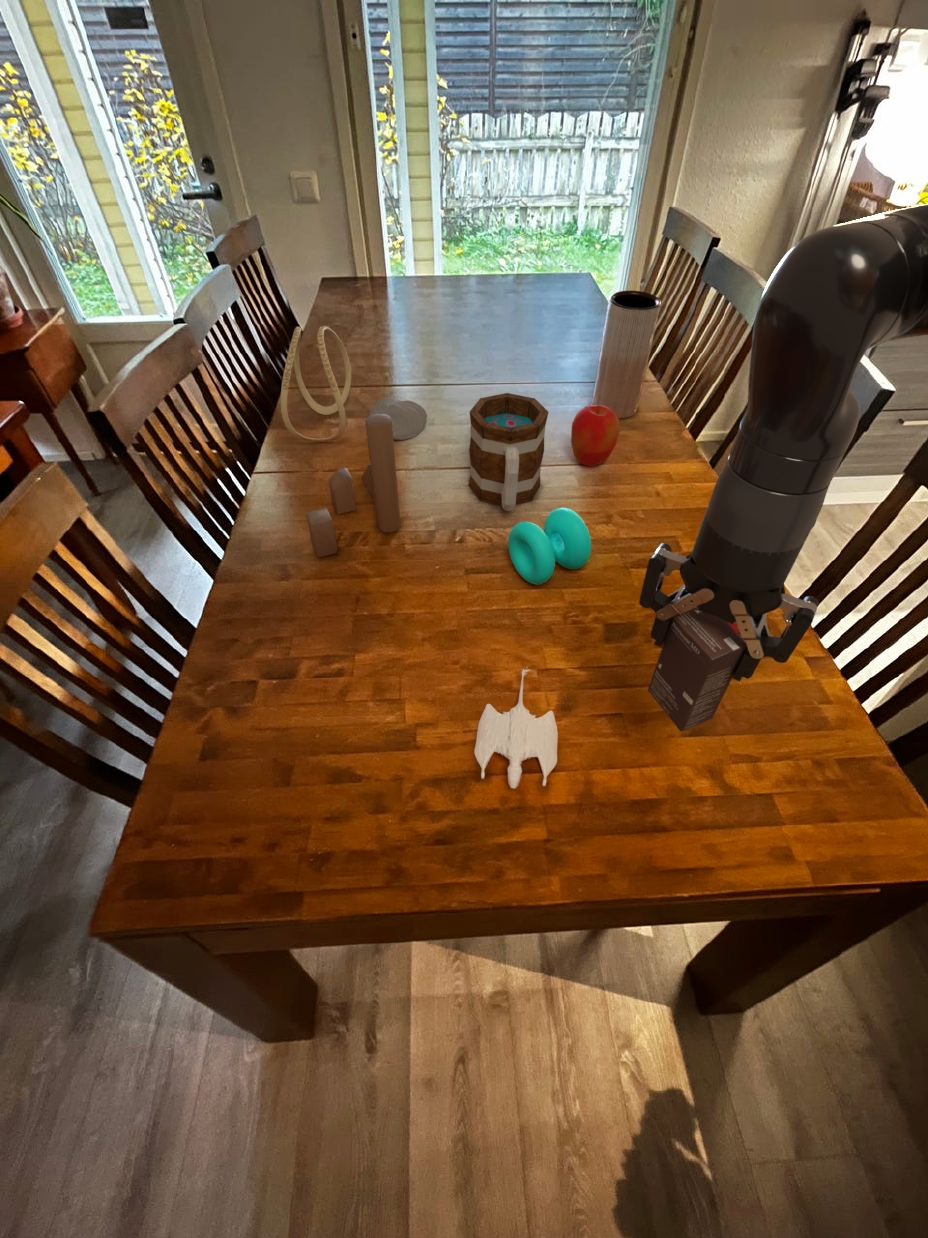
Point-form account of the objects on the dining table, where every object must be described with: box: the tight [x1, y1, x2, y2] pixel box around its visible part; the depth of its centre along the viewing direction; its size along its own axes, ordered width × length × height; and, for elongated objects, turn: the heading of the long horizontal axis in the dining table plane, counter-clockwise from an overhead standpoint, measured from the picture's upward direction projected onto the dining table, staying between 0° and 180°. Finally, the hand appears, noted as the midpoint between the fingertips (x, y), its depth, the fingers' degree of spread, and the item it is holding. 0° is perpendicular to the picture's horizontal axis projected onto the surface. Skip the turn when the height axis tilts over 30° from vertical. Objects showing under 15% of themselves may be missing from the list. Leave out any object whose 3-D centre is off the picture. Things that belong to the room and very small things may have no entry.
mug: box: [468, 392, 549, 512], centre depth 110 cm, size 20×14×15 cm
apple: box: [570, 404, 621, 467], centre depth 119 cm, size 9×9×12 cm
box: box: [647, 606, 747, 732], centre depth 61 cm, size 6×4×12 cm
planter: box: [591, 290, 662, 419], centre depth 130 cm, size 10×10×23 cm
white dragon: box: [473, 665, 559, 789], centre depth 78 cm, size 18×10×4 cm, turn 172°
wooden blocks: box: [305, 414, 401, 558], centre depth 104 cm, size 17×20×20 cm
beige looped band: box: [280, 325, 352, 443], centre depth 125 cm, size 22×12×20 cm, turn 4°
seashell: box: [369, 396, 428, 441], centre depth 130 cm, size 12×6×10 cm
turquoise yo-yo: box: [507, 507, 592, 585], centre depth 97 cm, size 10×10×10 cm
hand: (698, 657), depth 60 cm, fingers closed on box, 7 cm apart
